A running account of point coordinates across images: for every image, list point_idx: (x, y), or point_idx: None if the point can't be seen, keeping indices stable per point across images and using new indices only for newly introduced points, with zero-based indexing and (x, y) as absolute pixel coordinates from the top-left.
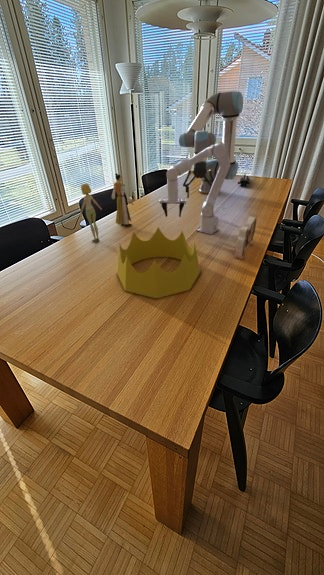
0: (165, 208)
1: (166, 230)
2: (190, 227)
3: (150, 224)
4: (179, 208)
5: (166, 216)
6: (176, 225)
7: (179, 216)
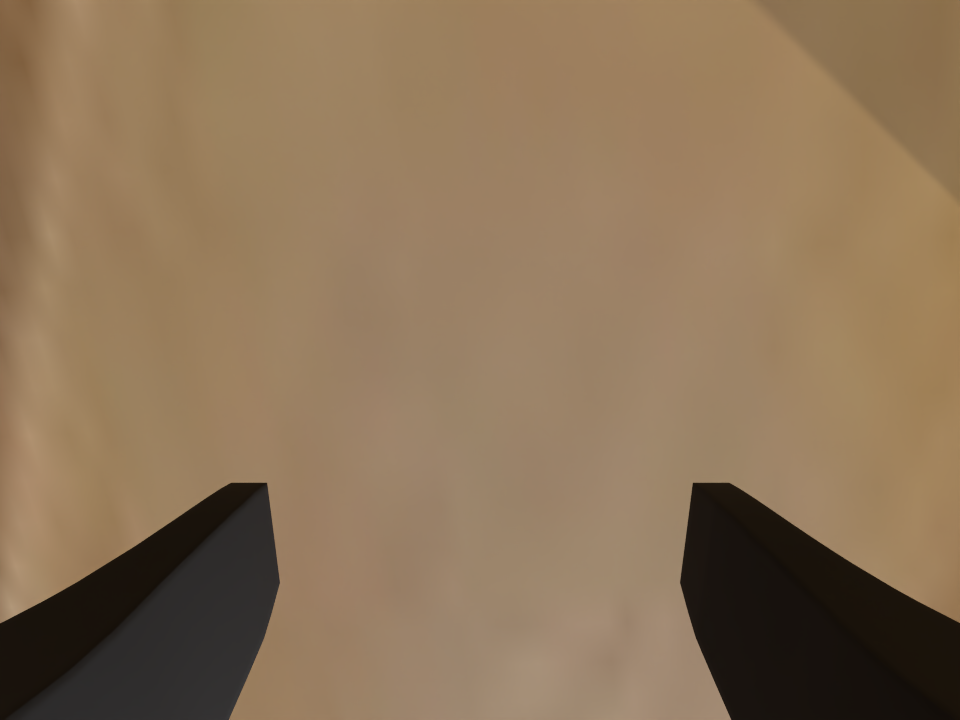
0: (934, 689)
1: (622, 312)
2: (158, 479)
3: (954, 573)
4: (29, 692)
5: (710, 485)
6: (446, 552)
7: (246, 489)
